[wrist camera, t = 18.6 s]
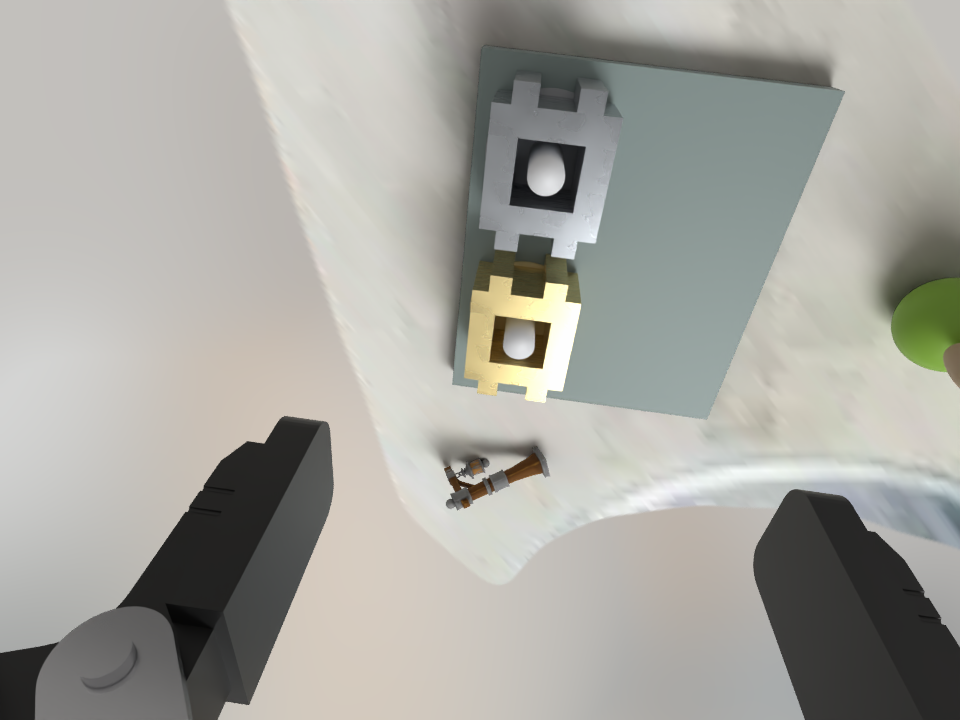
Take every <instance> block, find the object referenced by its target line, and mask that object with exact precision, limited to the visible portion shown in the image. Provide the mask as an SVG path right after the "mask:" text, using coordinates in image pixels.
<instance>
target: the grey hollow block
mask: <svg viewBox="0 0 960 720" xmlns="http://www.w3.org/2000/svg"><path fill="white" fill-rule="evenodd" d="M540 87H541V73H540V72H532V71H524V70H518V71H517V73H516V76H515V79H514V85H513V91H507V90H499V89H498V90H497V92H496V94H495V96H494V98H493V100H492V102H491V112H490V122H489V132H488V142H487V152H486V162H485V172H484V182H483V192H482V202H481V212H480V222H479V229H486V230H494V231H496V237H495V245H494V249H497V250H505V251H513V252H517V247H518V240H519V234H525V235H532V236H540V237H548V238H551V257H559V258H566V259H574V257H575V252H576V247H577V242H578V241H579V242H586V243H594V244H595V242H596V238H597V234H598V229H599V225H600V220H601V216H602V211H603V207H604V202H605V198H606V194H607V189H608V185H609V180H610V176H611V171H612V167H613V162H614V158H615V153H616V149H617V145H618V140H619V136H620V131H621V127H622V122H623V117H622V115H621V114H620V112H619V110H618V109H617V107H616V106H615V104H613V103H606V101H607V96H608V90H607V89H606V87H605V85H604V84H603V82H602V81H601V80H598V79H590V78H582V77H577V81H576V86H575V92H574V98H573V99H572V98H564V97H556V96H548V95H540ZM519 138H520V139H528V140H536V141H545V142H553V143H561V144H569V145H577V146H578V151H577V156H576V161H575V167H574V172H573V177H572V183H571V188H570V190H567V189H560V190H559V191H558V192H557V193H555V194H553V195H550V196H541V195H538V194H536V193H534V192H533V191H532V190H531V188H530V187H529V185H528V184H520V183H513V180H514V172H515V165H516V157H517V149H518V142H519Z"/></svg>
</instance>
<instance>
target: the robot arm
mask: <svg viewBox="0 0 960 720" xmlns="http://www.w3.org/2000/svg"><path fill="white" fill-rule="evenodd" d="M332 468H333V467H332V453H331V438H330V428H329V425H328V423H327V422H324V421H316V420H309V419H303V418H295V417H288V416H284V417H282V418H281V419H280V420H279V421H278V423H277V424H276V426H275V427H274V429H273V431H272V432H271V434H270V436H269V437H268V439H267V440H266V442H265V443H264V444H262V443H255V442H249V441H247V442H246V443H245V444H243V445H242V446H241V447H239V448H238V449H236V450H235V451H234V452H232V453H231V454H230V455H229V456H227V457H226V458H224V459H223V460H221V462H220V463H219V464H218V466H217V467H216V469H215V470H214V472H213V473H212V475H211V476H210V477H209V479H208V480H207V482H206V483H205V485H204V489H203V491H200V492H199V493H198V495H197V496H196V498H195V499H194V500H193V502H192V504H191V505H190V506H189V511H188V512H185V514H184V515H183V516H182V518H181V519H180V521H179V522H178V524H177V525H176V526H175V528H174V529H173V531H172V532H171V534H170V535H169V537H168V538H167V539H166V541H165V542H164V544H163V545H162V547H161V548H160V550H159V551H158V552H157V554H156V555H155V557H154V558H153V560H152V561H151V562H150V564H149V565H148V567H147V568H146V570H145V571H144V573H143V574H142V575H141V577H140V578H139V580H138V581H137V583H136V584H135V586H134V587H133V588H132V590H131V591H130V593H129V594H128V595H127V597H126V598H125V599H124V600H123V602H122V603H121V604H120V605H119V606H118V607H117V608H116V609H113V610H110V611H107V612H104V613H101V614H99V615H97V616H95V617H93V618H91V619H89V620H87V621H86V622H84V623H82V624H81V625H79V626H78V627H77V628H75V629H74V630H72V631H71V632H70V633H69V634H68V635H66V636H65V637H64V638H63V639H62V640H61V641H60V642H57V643H54V644H49V645H45V646H40V647H34V648H28V649H22V650H16V651H10V652H4V653H0V720H218V717H219V715H220V713H221V710H222V709H223V706H224V704H225V702H233V703H239V704H246V705H249V704H250V701H251V699H252V696H253V694H254V692H255V689H256V687H257V685H258V682H259V680H260V677H261V675H262V673H263V670H264V668H265V665H266V663H267V661H268V658H269V655H270V653H271V651H272V648H273V646H274V644H275V641H276V639H277V637H278V634H279V632H280V629H281V627H282V625H283V622H284V620H285V617H286V615H287V613H288V610H289V608H290V605H291V603H292V600H293V598H294V596H295V593H296V591H297V588H298V586H299V584H300V581H301V579H302V577H303V574H304V572H305V569H306V567H307V565H308V562H309V560H310V557H311V555H312V553H313V550H314V548H315V545H316V543H317V540H318V538H319V535H320V533H321V531H322V529H323V526H324V524H325V521H326V518H327V516H328V513H329V510H330V506H331V502H332V496H333V485H334V484H333V469H332ZM753 568H754V576H755V580H756V584H757V587H758V589H759V592H760V595H761V598H762V600H763V603H764V606H765V609H766V612H767V615H768V617H769V620H770V623H771V626H772V629H773V631H774V634H775V637H776V640H777V643H778V645H779V648H780V651H781V654H782V657H783V659H784V662H785V665H786V668H787V670H788V673H789V676H790V679H791V682H792V685H793V687H794V690H795V693H796V696H797V699H798V701H799V704H800V707H801V710H802V713H803V715H804V718H805V720H960V647H959V645H958V644H957V642H956V641H955V639H954V637H953V636H952V634H951V633H950V631H949V630H948V628H947V627H946V625H942V624H941V617H940V615H939V614H938V612H937V611H936V609H935V607H934V606H933V604H932V603H931V601H930V599H929V598H925V597H924V590H923V588H922V587H921V585H920V584H919V582H918V581H917V579H916V577H915V576H914V574H913V573H912V571H911V570H910V568H909V566H908V565H907V563H906V562H905V560H904V559H903V558H902V557H901V556H900V555H899V554H898V553H897V552H895V551H894V550H893V549H892V548H891V547H890V546H889V545H888V544H887V543H886V542H885V541H884V540H883V539H882V538H881V537H880V536H879V535H878V534H877V533H876V532H871V531H867V529H866V528H865V526H864V524H863V522H862V521H861V519H860V517H859V516H858V514H857V512H856V511H855V509H854V507H853V506H852V504H851V503H850V502H849V501H848V500H847V499H846V498H845V497H843V496H840V495H833V494H826V493H819V492H812V491H805V490H798V489H794V490H791V491H790V492H789V493H788V494H787V495H786V496H785V498H784V499H783V501H782V503H781V505H780V506H779V508H778V510H777V512H776V513H775V515H774V517H773V518H772V520H771V522H770V524H769V525H768V527H767V529H766V530H765V532H764V534H763V535H762V537H761V539H760V541H759V542H758V545H757V546H756V549H755V553H754V562H753Z"/></svg>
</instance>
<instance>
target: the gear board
mask: <svg viewBox="0 0 960 720" xmlns="http://www.w3.org/2000/svg"><path fill="white" fill-rule="evenodd" d="M518 70H524V71H532V72H540V73H541V87H540V95H548V96H556V97H564V98H572V99H573V98H574V92H575V86H576V81H577V77H582V78H590V79H598V80H601V81H602V82H603V84H604V85H605V87H606V89H607V90H608V96H607V101H606V103H613V104H615V106H616V107H617V109H618V110H619V112H620V114H621V115H622V117H623V122H622V127H621V131H620V136H619V140H618V145H617V149H616V153H615V158H614V162H613V167H612V171H611V176H610V180H609V185H608V189H607V194H606V198H605V202H604V207H603V211H602V216H601V220H600V225H599V229H598V234H597V238H596V242H595V244H594V243H586V242H579V241H578V242H577V247H576V252H575V257H574V259H566V262H567V272H572V273H578V279H579V288H580V296H581V308H580V313H579V317H578V322H577V326H576V331H575V335H574V340H573V344H572V349H571V353H570V358H569V362H568V367H567V371H566V376H565V381H564V385H563V390H562V391H555V390H548V389H547V393H546V397H547V398H554V399H561V400H568V401H576V402H583V403H590V404H597V405H605V406H612V407H619V408H627V409H634V410H641V411H648V412H656V413H663V414H670V415H678V416H685V417H692V418H699V419H707V418H708V416H709V413H710V411H711V408H712V406H713V404H714V401H715V399H716V397H717V394H718V392H719V389H720V387H721V385H722V382H723V380H724V378H725V375H726V373H727V370H728V368H729V366H730V363H731V361H732V359H733V356H734V354H735V351H736V349H737V347H738V344H739V342H740V340H741V337H742V335H743V332H744V330H745V328H746V325H747V323H748V321H749V318H750V316H751V314H752V311H753V309H754V306H755V304H756V302H757V299H758V297H759V295H760V292H761V290H762V287H763V285H764V283H765V280H766V278H767V276H768V273H769V271H770V268H771V266H772V264H773V261H774V259H775V257H776V254H777V252H778V249H779V247H780V245H781V242H782V240H783V238H784V235H785V233H786V230H787V228H788V226H789V223H790V221H791V219H792V216H793V214H794V212H795V209H796V207H797V204H798V202H799V200H800V197H801V195H802V193H803V190H804V188H805V185H806V183H807V181H808V178H809V176H810V174H811V171H812V169H813V166H814V164H815V162H816V159H817V157H818V155H819V152H820V150H821V147H822V145H823V143H824V140H825V138H826V136H827V133H828V131H829V128H830V126H831V124H832V121H833V119H834V117H835V114H836V112H837V110H838V107H839V105H840V102H841V100H842V98H843V95H844V93H845V91H842V90H839V89H836V88H833V87H827V86H819V85H811V84H802V83H794V82H786V81H777V80H769V79H761V78H752V77H744V76H736V75H728V74H719V73H711V72H703V71H694V70H686V69H678V68H669V67H661V66H653V65H645V64H636V63H628V62H620V61H611V60H603V59H595V58H586V57H578V56H570V55H561V54H553V53H545V52H537V51H528V50H520V49H512V48H503V47H495V46H487V45H484V46H483V47H482V49H481V61H480V72H479V84H478V95H477V107H476V118H475V130H474V141H473V153H472V165H471V176H470V188H469V199H468V211H467V222H466V234H465V245H464V257H463V268H462V280H461V291H460V303H459V314H458V326H457V337H456V349H455V360H454V372H453V383H452V385H459V386H466V387H474V388H478V381H479V380H473V379H466V378H464V373H465V362H466V352H467V342H468V331H469V321H470V310H471V300H472V290H473V286H474V282H475V278H476V273H477V269H478V265H479V261H486V262H493V261H494V255H495V250H496V249H494V245H495V237H496V231H494V230H486V229H479V222H480V212H481V202H482V192H483V182H484V172H485V162H486V152H487V142H488V132H489V122H490V112H491V102H492V100H493V98H494V96H495V94H496V92H497V90H498V89H499V90H507V91H513V85H514V79H515V76H516V73H517V71H518ZM577 151H578V146H577V145H569V144H561V143H553V142H545V141H536V140H528V139H520V138H519V142H518V149H517V157H516V165H515V172H514V180H513V183H520V184H528V185H529V187H530V188H531V190H532V191H533V192H534V193H536V194H538V195H541V196H550V195H553V194H555V193H557V192H558V191H559V190H560V189H567V190H570V188H571V183H572V177H573V172H574V167H575V161H576V156H577ZM546 254H551V238H548V237H540V236H532V235H525V234H519V240H518V247H517V252H516V254H515V263H514V265H517V266H525V267H532V268H540V269H543V268H544V262H545V256H546ZM544 327H545V322H542V321H534V320H526V319H519V318H511V317H504V316H496V319H495V327H494V329H501V330H505V333H504V341H503V349H504V351H505V353H506V354H507V355H508V356H509V357H511V358H514V359H525V358H527V357H529V356H530V355H531V354H532V353H533V351H534V347H535V334H539V335H543V332H544ZM497 391H503V392H510V393H517V394H525V395H526V386H518V385H511V384H503V383H498V388H497Z"/></svg>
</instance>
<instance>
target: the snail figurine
mask: <svg viewBox="0 0 960 720" xmlns="http://www.w3.org/2000/svg"><path fill="white" fill-rule="evenodd" d="M891 331H892V336H893V340H894V342H895V344H896V346H897V347H898V349H899V350H900V351H901V353H902V354H903V355H904V356H905V357H907V358H908V359H909V360H910V361H912V362H914V363H915V364H917V365H919V366H921V367H924V368H927V369H930V370H934V371H940V372H948V374H949V376H950V377H951V379H952V380H953V381H954V383H955V384H956V385H957V386H958V387H959V388H960V278H944V279H939V280H935V281H931V282H928V283H926V284H923V285H921V286H919V287H917V288H916V289H914V290H913V291H911V292H910V293H909V294H907V295H906V296H905V297H904V298H903V299H902V300H901V302H900V303H899V304H898V306H897V308H896V310H895V312H894V314H893V317H892V322H891Z"/></svg>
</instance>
